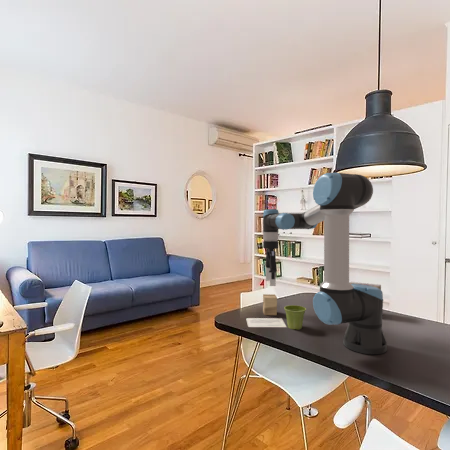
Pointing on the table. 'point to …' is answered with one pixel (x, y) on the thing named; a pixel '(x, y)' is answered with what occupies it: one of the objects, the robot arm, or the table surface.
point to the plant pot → (294, 316)
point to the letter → (265, 322)
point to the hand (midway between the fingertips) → (270, 283)
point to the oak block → (269, 304)
